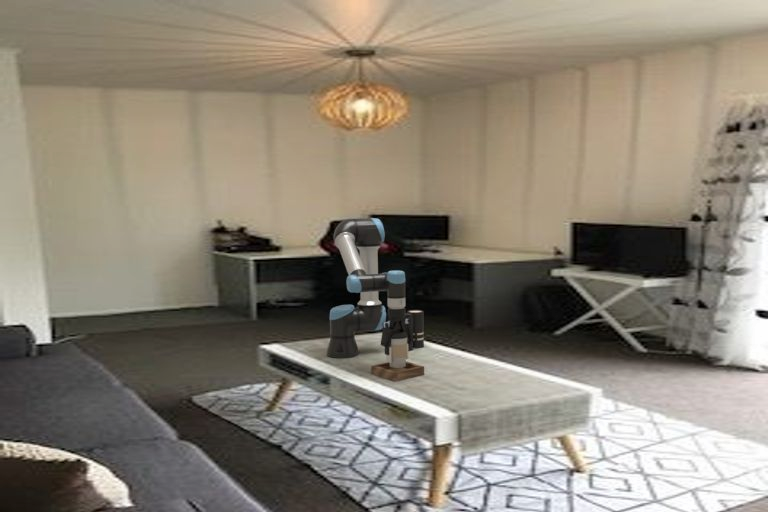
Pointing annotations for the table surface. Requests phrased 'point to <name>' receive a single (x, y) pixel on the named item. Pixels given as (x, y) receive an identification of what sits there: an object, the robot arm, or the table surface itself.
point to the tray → (397, 371)
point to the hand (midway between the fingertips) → (397, 360)
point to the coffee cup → (398, 349)
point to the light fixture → (416, 328)
